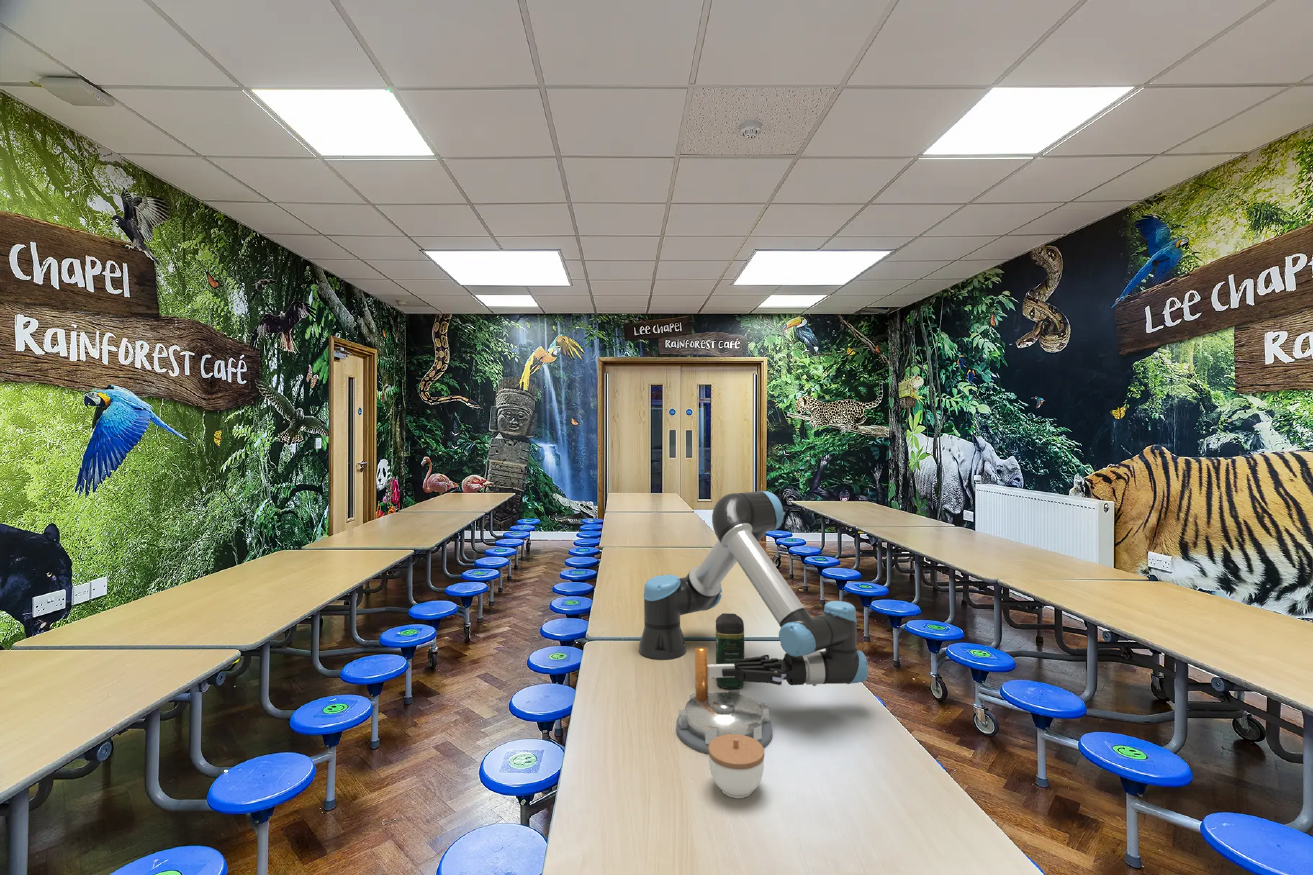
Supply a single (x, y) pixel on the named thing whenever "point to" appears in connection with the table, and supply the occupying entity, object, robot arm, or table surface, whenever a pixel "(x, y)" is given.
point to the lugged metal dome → (720, 708)
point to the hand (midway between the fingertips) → (708, 671)
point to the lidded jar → (736, 764)
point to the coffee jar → (729, 646)
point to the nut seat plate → (700, 744)
